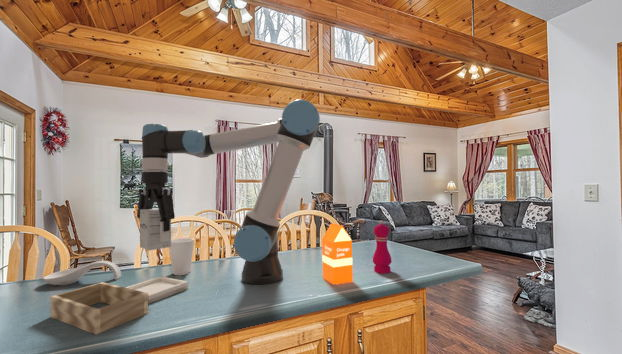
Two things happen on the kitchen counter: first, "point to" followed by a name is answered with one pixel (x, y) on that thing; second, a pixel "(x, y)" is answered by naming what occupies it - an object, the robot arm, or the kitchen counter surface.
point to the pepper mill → (381, 249)
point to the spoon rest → (78, 273)
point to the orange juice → (337, 255)
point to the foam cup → (181, 255)
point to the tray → (160, 287)
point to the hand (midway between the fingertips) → (155, 240)
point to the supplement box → (152, 230)
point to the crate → (93, 320)
